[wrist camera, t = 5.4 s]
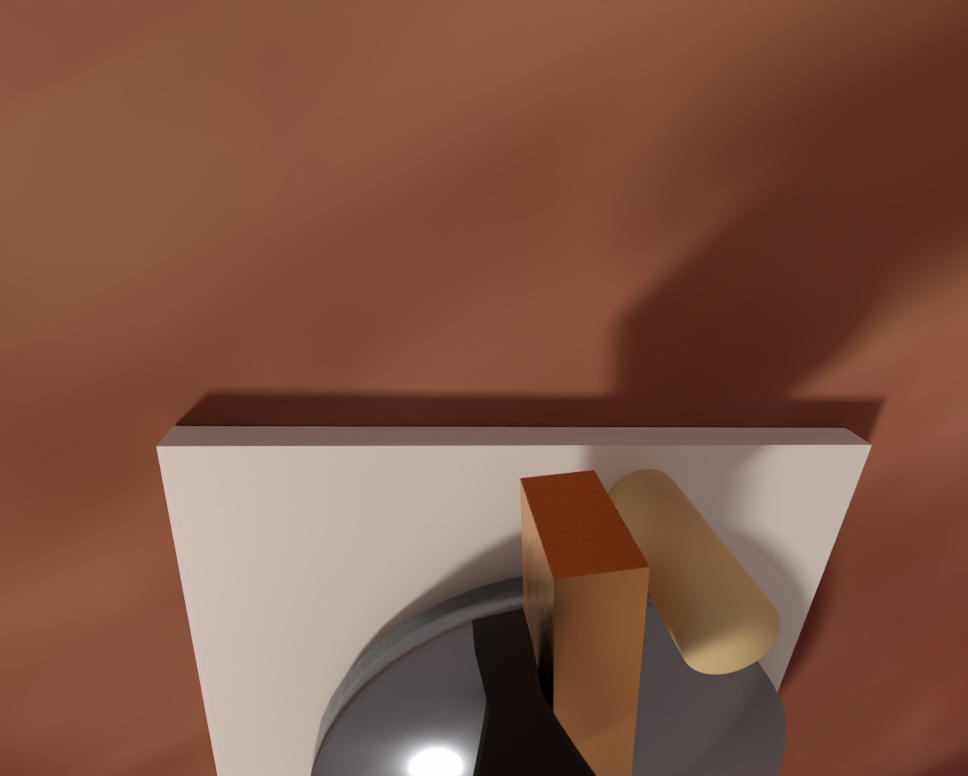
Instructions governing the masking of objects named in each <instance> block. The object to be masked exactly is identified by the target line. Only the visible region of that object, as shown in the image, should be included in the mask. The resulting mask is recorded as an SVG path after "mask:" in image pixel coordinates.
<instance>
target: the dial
mask: <svg viewBox="0 0 968 776" xmlns="http://www.w3.org/2000/svg"><path fill="white" fill-rule="evenodd" d="M520 497H521V533H522V569H523V576H522V577H516V578H511V579H507V580H503V581H500V582H496V583H493V584H489V585H486V586H482V587H479V588H475V589H473V590H470V591H468V592H465V593H463V594H460V595H458V596H455V597H453V598H450V599H448V600H445V601H443V602H441V603H439V604H437V605H435V606H433V607H431V608H429V609H428V610H426V611H424V612H422V613H420V614H418V615H416V616H414V617H413V618H411V619H410V620H408V621H407V622H405V623H404V624H402V625H401V626H399V627H398V628H396V629H395V630H393V631H392V632H390V633H389V634H388V635H386V636H385V637H384V638H383V639H382V640H381V641H379V642H378V643H377V644H376V645H375V646H374V647H372V648H371V649H370V650H369V651H368V652H367V653H365V654H364V655H363V657H362V658H361V659H360V660H359V661H358V662H357V663H356V664H355V666H354V667H353V668H352V669H351V670H350V671H349V672H348V673H347V674H346V676H345V677H344V679H343V680H342V682H341V683H340V685H339V686H338V688H337V689H336V691H335V692H334V694H333V695H332V697H331V699H330V701H329V703H328V705H327V708H326V710H325V712H324V714H323V717H322V719H321V722H320V726H319V730H318V735H317V739H316V743H315V750H314V756H313V762H312V769H311V775H310V776H473V772H474V768H475V763H476V757H477V752H478V747H479V742H480V736H481V731H482V726H483V720H484V713H485V705H486V696H485V692H484V687H483V683H482V679H481V675H480V671H479V667H478V663H477V659H476V654H475V648H474V638H473V627H472V620H474V619H479V618H483V617H487V616H491V615H495V614H499V613H504V612H508V611H512V610H516V609H520V608H523V609H524V613H525V616H526V620H527V624H528V628H529V631H530V635H531V639H532V644H533V649H534V654H535V658H536V663H537V668H538V673H539V678H540V682H541V687H542V692H543V696H544V697H545V699H546V701H547V703H548V704H549V706H550V708H551V709H552V711H553V713H554V714H555V716H556V717H557V719H558V721H559V722H560V724H561V725H562V727H563V728H564V730H565V731H566V733H567V734H568V736H569V737H570V739H571V740H572V742H573V743H574V745H575V746H576V748H577V749H578V751H579V752H580V754H581V755H582V756H583V758H584V759H585V761H586V762H587V763H588V765H589V766H590V768H591V769H592V770H593V772H594V773H595V774H596V776H778V773H779V770H780V767H781V764H782V762H783V758H784V752H785V746H786V719H785V715H784V711H783V707H782V702H781V700H780V698H779V696H778V694H777V691H776V689H775V687H774V685H773V683H772V682H771V680H770V679H769V677H768V676H767V674H766V673H765V671H764V670H763V668H762V667H761V665H760V664H759V662H758V661H756V662H754V663H753V664H751V665H749V666H747V667H745V668H743V669H740V670H738V671H734V672H731V673H726V674H705V673H701V672H698V671H696V670H694V669H692V668H691V667H690V666H689V665H688V664H687V663H686V662H685V660H684V659H683V657H682V655H681V653H680V651H679V650H678V648H677V646H676V644H675V642H674V640H673V638H672V636H671V635H670V633H669V631H668V629H667V627H666V625H665V623H664V622H663V620H662V618H661V616H660V614H659V612H658V610H657V608H656V607H655V605H654V603H653V601H652V599H651V597H650V595H649V594H648V582H649V571H650V566H649V565H648V563H647V561H646V559H645V558H644V556H643V554H642V552H641V551H640V549H639V547H638V545H637V544H636V542H635V540H634V538H633V537H632V535H631V533H630V531H629V530H628V528H627V526H626V524H625V523H624V521H623V519H622V517H621V516H620V514H619V512H618V510H617V509H616V507H615V505H614V503H613V502H612V500H611V498H610V496H609V495H608V493H607V491H606V490H605V488H604V486H603V484H602V483H601V481H600V479H599V477H598V476H597V474H596V472H595V470H589V471H580V472H571V473H562V474H553V475H544V476H535V477H526V478H520Z"/></svg>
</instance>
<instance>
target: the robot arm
mask: <svg viewBox="0 0 968 776" xmlns="http://www.w3.org/2000/svg"><path fill="white" fill-rule="evenodd" d="M472 627H473V638H474V648H475V654H476V659H477V663H478V667H479V671H480V675H481V679H482V683H483V687H484V692H485V696H486V705H485V713H484V720H483V726H482V731H481V736H480V742H479V747H478V752H477V757H476V763H475V768H474V772H473V776H596V774H595V773H594V772H593V770H592V769H591V768H590V766H589V765H588V763H587V762H586V761H585V759H584V758H583V756H582V755H581V754H580V752H579V751H578V749H577V748H576V746H575V745H574V743H573V742H572V740H571V739H570V737H569V736H568V734H567V733H566V731H565V730H564V728H563V727H562V725H561V724H560V722H559V721H558V719H557V717H556V716H555V714H554V713H553V711H552V709H551V708H550V706H549V704H548V703H547V701H546V699H545V697H544V696H543V692H542V687H541V682H540V678H539V673H538V668H537V663H536V658H535V654H534V649H533V644H532V639H531V635H530V631H529V628H528V624H527V620H526V616H525V613H524V609H523V608H520V609H516V610H512V611H508V612H504V613H499V614H495V615H491V616H487V617H483V618H479V619H474V620H472Z"/></svg>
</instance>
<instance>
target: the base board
mask: <svg viewBox="0 0 968 776" xmlns="http://www.w3.org/2000/svg"><path fill="white" fill-rule="evenodd" d="M871 446H872V445H871V444H870V443H868V442H867V441H865V440H864V439H862V438H860V437H859V436H857V435H856V434H854V433H853V432H851V431H850V430H848V429H846V428H720V427H334V426H173V427H172V428H171V430H170V431H169V432H168V433H167V434H166V436H165V437H164V438H163V439H162V440H161V441H160V443H159V444H158V445H157V446H156V447H157V452H158V458H159V463H160V469H161V474H162V479H163V485H164V490H165V496H166V501H167V506H168V512H169V517H170V522H171V528H172V533H173V539H174V544H175V549H176V555H177V560H178V565H179V571H180V576H181V582H182V587H183V592H184V598H185V603H186V609H187V614H188V619H189V625H190V630H191V635H192V641H193V646H194V652H195V657H196V662H197V668H198V673H199V679H200V684H201V689H202V695H203V700H204V705H205V711H206V716H207V722H208V727H209V732H210V738H211V743H212V748H213V754H214V759H215V765H216V770H217V775H218V776H310V775H311V769H312V762H313V756H314V750H315V743H316V739H317V735H318V730H319V726H320V722H321V719H322V717H323V714H324V712H325V710H326V708H327V705H328V703H329V701H330V699H331V697H332V695H333V694H334V692H335V691H336V689H337V688H338V686H339V685H340V683H341V682H342V680H343V679H344V677H345V676H346V674H347V673H348V672H349V671H350V670H351V669H352V668H353V667H354V666H355V664H356V663H357V662H358V661H359V660H360V659H361V658H362V657H363V655H364V654H365V653H367V652H368V651H369V650H370V649H371V648H372V647H374V646H375V645H376V644H377V643H378V642H379V641H381V640H382V639H383V638H384V637H385V636H386V635H388V634H389V633H390V632H392V631H393V630H395V629H396V628H398V627H399V626H401V625H402V624H404V623H405V622H407V621H408V620H410V619H411V618H413V617H414V616H416V615H418V614H420V613H422V612H424V611H426V610H428V609H429V608H431V607H433V606H435V605H437V604H439V603H441V602H443V601H445V600H448V599H450V598H453V597H455V596H458V595H460V594H463V593H465V592H468V591H470V590H473V589H475V588H479V587H482V586H486V585H489V584H493V583H496V582H500V581H503V580H507V579H511V578H516V577H522V576H523V569H522V533H521V497H520V478H526V477H535V476H544V475H553V474H562V473H571V472H580V471H589V470H595V472H596V474H597V476H598V477H599V479H600V481H601V483H602V484H603V486H604V488H605V490H606V491H607V493H608V495H609V496H610V498H611V500H612V502H613V503H614V505H615V507H616V509H617V510H618V512H619V514H620V516H621V517H622V519H623V521H624V523H625V524H626V526H627V528H628V530H629V531H630V533H631V535H632V537H633V538H634V540H635V542H636V544H637V545H638V547H639V549H640V551H641V552H642V554H643V556H644V558H645V559H646V561H647V563H648V565H649V566H650V571H649V582H648V594H649V595H650V597H651V599H652V601H653V603H654V605H655V607H656V608H657V610H658V612H659V614H660V616H661V618H662V620H663V622H664V623H665V625H666V627H667V629H668V631H669V633H670V635H671V636H672V638H673V640H674V642H675V644H676V646H677V648H678V650H679V651H680V653H681V655H682V657H683V659H684V660H685V662H686V663H687V664H688V665H689V666H690V667H691V668H692V669H694V670H696V671H698V672H701V673H705V674H726V673H731V672H734V671H738V670H740V669H743V668H745V667H747V666H749V665H751V664H753V663H754V662H756V661H758V662H759V664H760V665H761V667H762V668H763V670H764V671H765V673H766V674H767V676H768V677H769V679H770V680H771V682H772V683H773V685H774V687H775V689H776V691H777V692H778V690H779V687H780V684H781V682H782V679H783V676H784V674H785V671H786V669H787V666H788V663H789V661H790V658H791V655H792V653H793V650H794V648H795V645H796V642H797V640H798V637H799V635H800V632H801V629H802V627H803V624H804V621H805V619H806V616H807V614H808V611H809V608H810V606H811V603H812V600H813V598H814V595H815V593H816V590H817V587H818V585H819V582H820V579H821V577H822V574H823V572H824V569H825V566H826V564H827V561H828V559H829V556H830V553H831V551H832V548H833V545H834V543H835V540H836V538H837V535H838V532H839V530H840V527H841V524H842V522H843V519H844V517H845V514H846V511H847V509H848V506H849V504H850V501H851V498H852V496H853V493H854V490H855V488H856V485H857V483H858V480H859V477H860V475H861V472H862V469H863V467H864V464H865V462H866V459H867V456H868V454H869V451H870V449H871Z"/></svg>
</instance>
